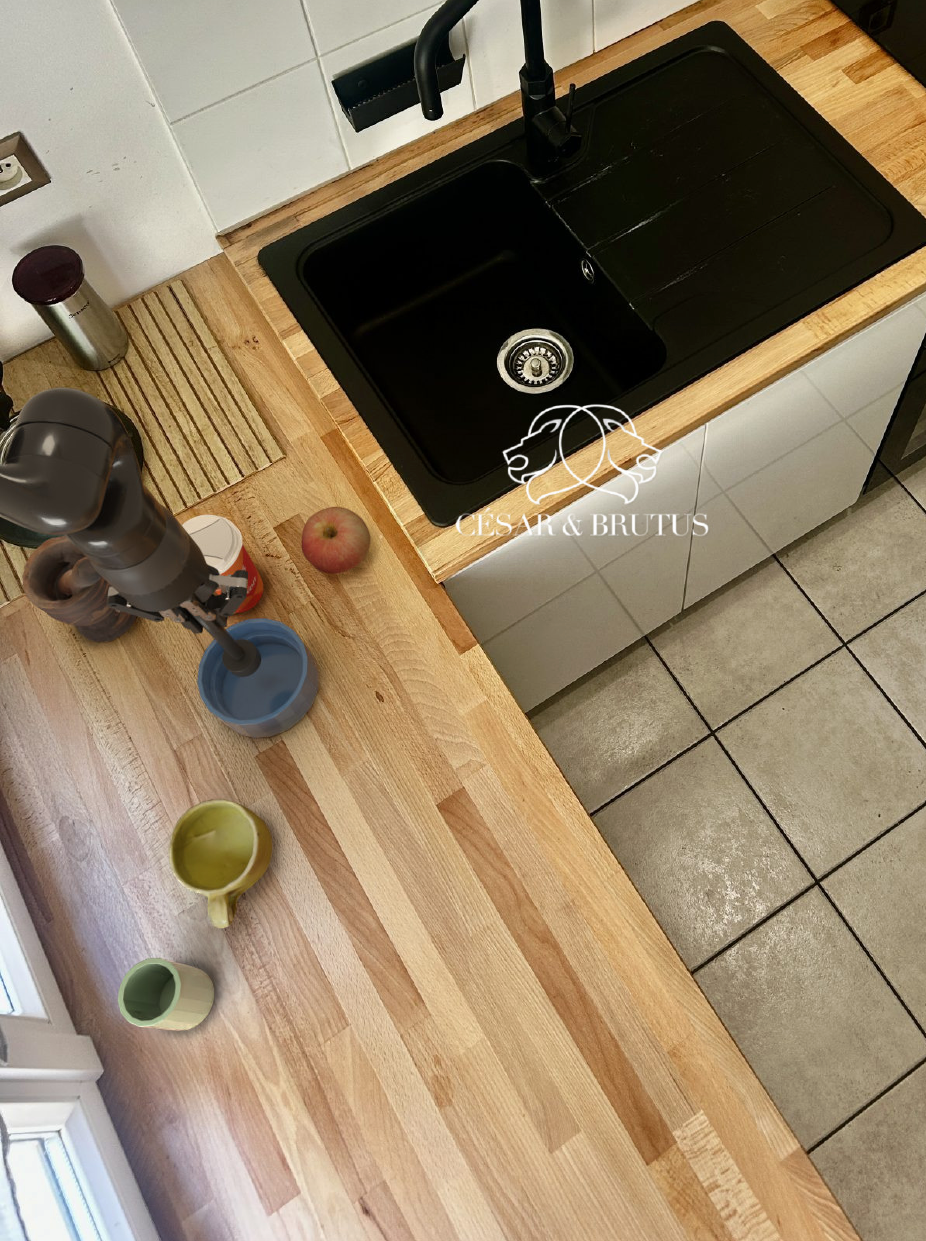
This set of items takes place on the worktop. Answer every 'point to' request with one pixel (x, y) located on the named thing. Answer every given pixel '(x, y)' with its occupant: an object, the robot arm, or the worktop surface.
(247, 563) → the paper cup
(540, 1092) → the worktop surface
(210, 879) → the mug
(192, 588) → the robot arm
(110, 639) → the mortar and pestle
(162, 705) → the worktop surface
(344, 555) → the apple
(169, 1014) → the utensil jar
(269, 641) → the bowl
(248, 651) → the black pestle
